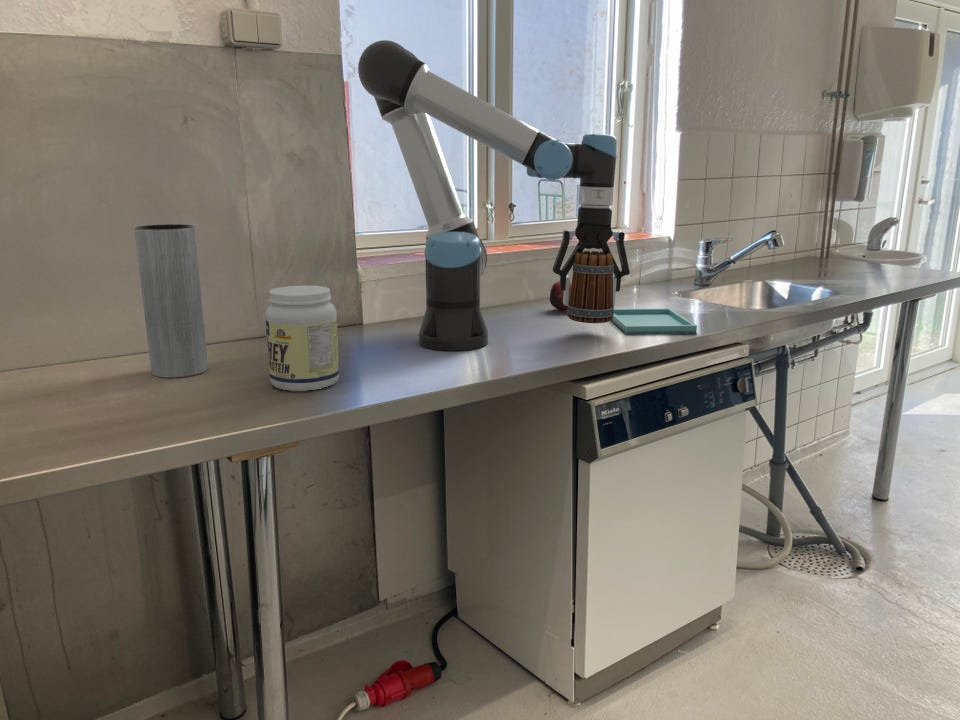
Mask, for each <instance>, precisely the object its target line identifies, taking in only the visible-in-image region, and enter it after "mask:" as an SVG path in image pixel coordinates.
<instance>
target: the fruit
mask: <svg viewBox="0 0 960 720" xmlns="http://www.w3.org/2000/svg"><path fill="white" fill-rule="evenodd" d="M571 284H572V280H570V284H569V300H570V292H571ZM551 286H552V287H551V289H550V293H549V301H550V305H551V306H552V307H553V308H554V309H556V310H558V311H563V312H567V309H568V306H565V305H564V304H563V295H564V290H560V280H558V281H556V282H554V283H553V284H552V285H551ZM569 300H568V304H569Z"/></svg>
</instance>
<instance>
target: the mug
mask: <svg viewBox="0 0 960 720" xmlns="http://www.w3.org/2000/svg"><path fill="white" fill-rule="evenodd" d="M613 258H614V255H613V253H612V252H611V253H607V255H606V254H605V253H604V252H603V251H600V249H596V250H595V249H593V250H592V251H590V250H583V251H582V252H581V253H579V252H576V254H575V261H574V263H573V266H572V276H571V277H572V279H571V282H572V284H571V292H570V300H569V304H568V309H567V310H566V313H567V317H568V319H570V320H571V321H574V322H577V323H584V324H604V323H609V322H612V321H611V320H612V319H613V315H614V309H615V306H613V276H614V264H613Z"/></svg>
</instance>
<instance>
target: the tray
mask: <svg viewBox="0 0 960 720" xmlns="http://www.w3.org/2000/svg"><path fill="white" fill-rule="evenodd" d="M610 322H612V323H613V325H615V326H616V327H617V328H618V329H619V330H620V331H621V332H622V333H624V335H649V334H650V335H652V334H654V335H659V334H660V335H662V334H664V335H665V334H675V335H676V334H697V330H698V329H697V328H698V326H697V324H695V323H693V322H692V321H690V320H689V319H688V318H686V317H684V316H682V315H681V314H680V313H678V312H676V311H675V310H673V309H671V308H614V315H613V319H612V320H611V321H610Z"/></svg>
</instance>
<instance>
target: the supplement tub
mask: <svg viewBox="0 0 960 720" xmlns="http://www.w3.org/2000/svg"><path fill="white" fill-rule="evenodd" d="M268 297H269V298H268V302H270V305H268V306H267V308H266V310H265V312H264V314H265V315H264V318H265V319H264V320H265V332H266V344H267V360H268V371H269V373H268V374H269V376H268V377H269V381H270V383H271V385H272V386H273V387H275V388H276V389H278V388H279V389H278V390H281V389H283V390H282V391H285V390H290V391H289V392H307V391H306V390H314V389H320V388H324V387H327V388H329V387H328V386H330V387H332V386H333V385H335V384H336V383H337V382H338V381H339V379H340V359H339V336H338V316H337V315H338V312H337V308H336V307H335V305H334V304H332V302H331V301H330V300H331V299H332V296H331V288H329V287H326V286H321V285H305V284H303V285H287V286H281V287H275V288H272V289H270V290H269V291H268ZM331 385H332V386H331ZM324 389H325V388H324ZM320 390H321V389H320ZM314 391H315V390H314Z"/></svg>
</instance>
